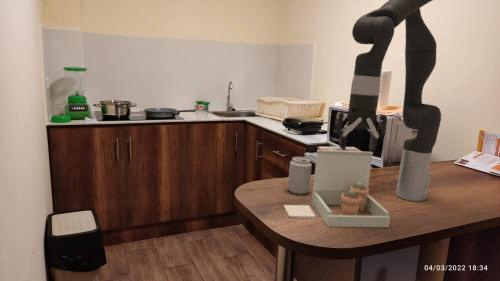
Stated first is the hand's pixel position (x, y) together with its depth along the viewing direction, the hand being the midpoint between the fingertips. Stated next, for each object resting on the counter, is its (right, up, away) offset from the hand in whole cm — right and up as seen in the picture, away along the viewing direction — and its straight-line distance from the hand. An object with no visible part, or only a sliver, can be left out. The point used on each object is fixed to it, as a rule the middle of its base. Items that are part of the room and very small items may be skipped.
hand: (357, 149), depth 105 cm
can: (-14, -16, +25) cm, 32 cm away
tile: (-16, -19, +7) cm, 26 cm away
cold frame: (-1, -20, +8) cm, 21 cm away
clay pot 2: (+3, -19, +12) cm, 23 cm away
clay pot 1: (-1, -21, +5) cm, 21 cm away
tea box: (+2, -15, +31) cm, 35 cm away
